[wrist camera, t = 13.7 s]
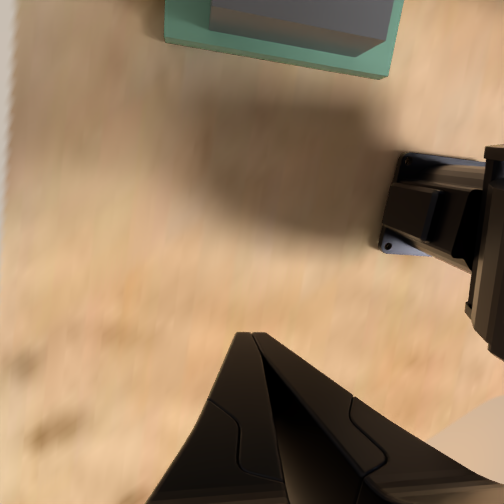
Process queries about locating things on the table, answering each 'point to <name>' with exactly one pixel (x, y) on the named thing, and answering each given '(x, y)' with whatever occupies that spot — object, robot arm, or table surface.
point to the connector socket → (306, 22)
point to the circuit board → (199, 36)
